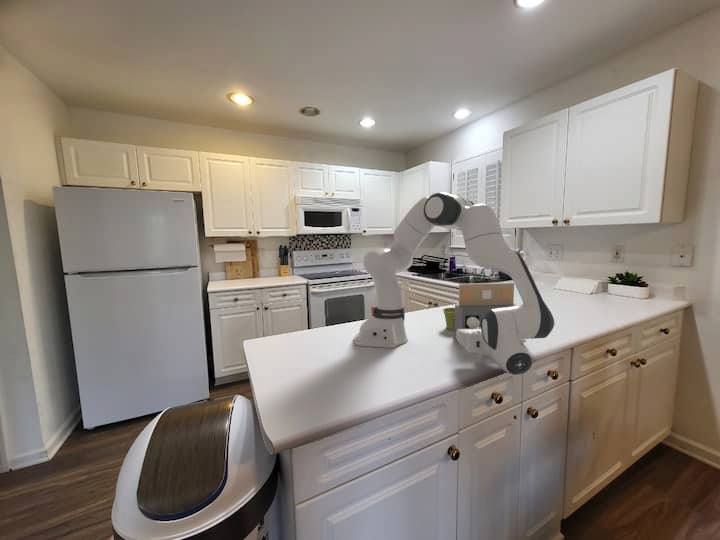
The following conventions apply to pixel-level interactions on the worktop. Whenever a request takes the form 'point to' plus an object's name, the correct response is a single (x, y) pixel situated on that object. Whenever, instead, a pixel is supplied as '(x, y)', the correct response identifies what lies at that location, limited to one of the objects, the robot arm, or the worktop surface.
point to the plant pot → (450, 318)
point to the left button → (472, 322)
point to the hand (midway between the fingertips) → (479, 328)
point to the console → (481, 301)
